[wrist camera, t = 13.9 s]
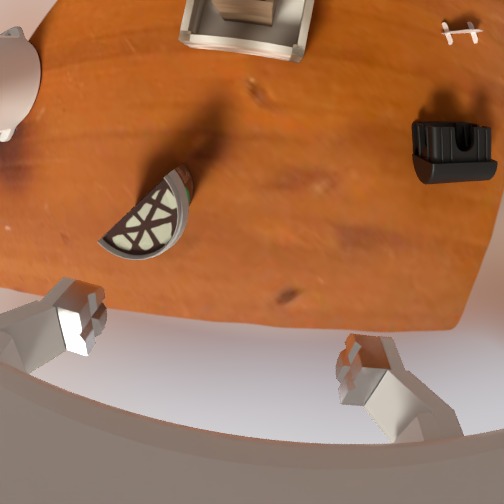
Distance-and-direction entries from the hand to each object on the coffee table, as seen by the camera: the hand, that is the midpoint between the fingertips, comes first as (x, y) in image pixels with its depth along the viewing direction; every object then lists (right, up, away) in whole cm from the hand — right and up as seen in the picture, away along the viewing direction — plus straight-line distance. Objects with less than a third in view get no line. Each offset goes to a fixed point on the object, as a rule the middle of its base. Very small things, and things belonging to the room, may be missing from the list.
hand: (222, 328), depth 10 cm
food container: (-9, +9, +31) cm, 34 cm away
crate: (+1, +31, +19) cm, 36 cm away
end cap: (+26, +16, +25) cm, 40 cm away
